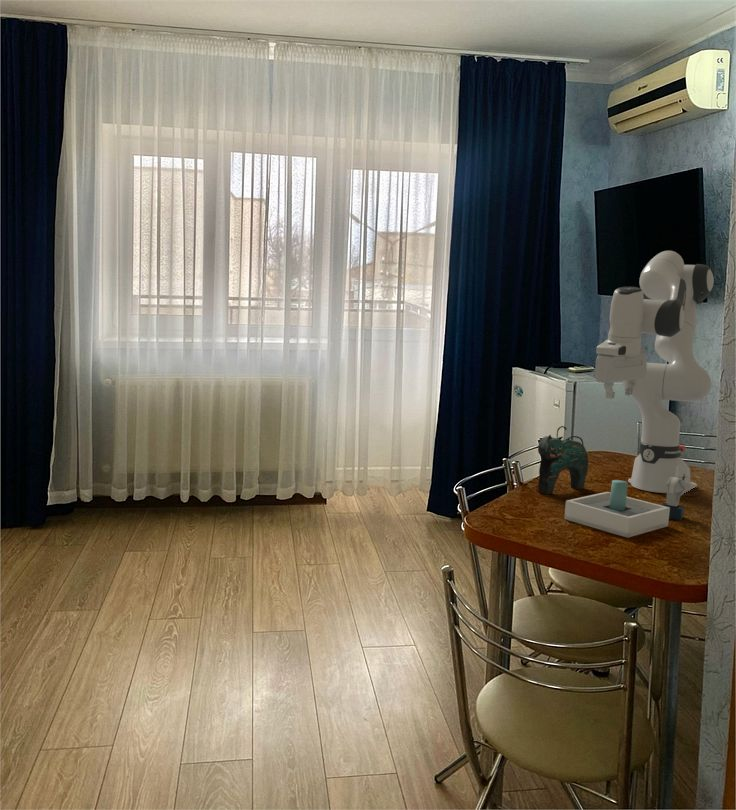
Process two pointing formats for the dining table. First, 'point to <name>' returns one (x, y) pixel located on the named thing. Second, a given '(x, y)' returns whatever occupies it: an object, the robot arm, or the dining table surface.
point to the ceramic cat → (561, 462)
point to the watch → (675, 497)
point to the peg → (618, 495)
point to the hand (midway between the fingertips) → (619, 396)
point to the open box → (617, 515)
